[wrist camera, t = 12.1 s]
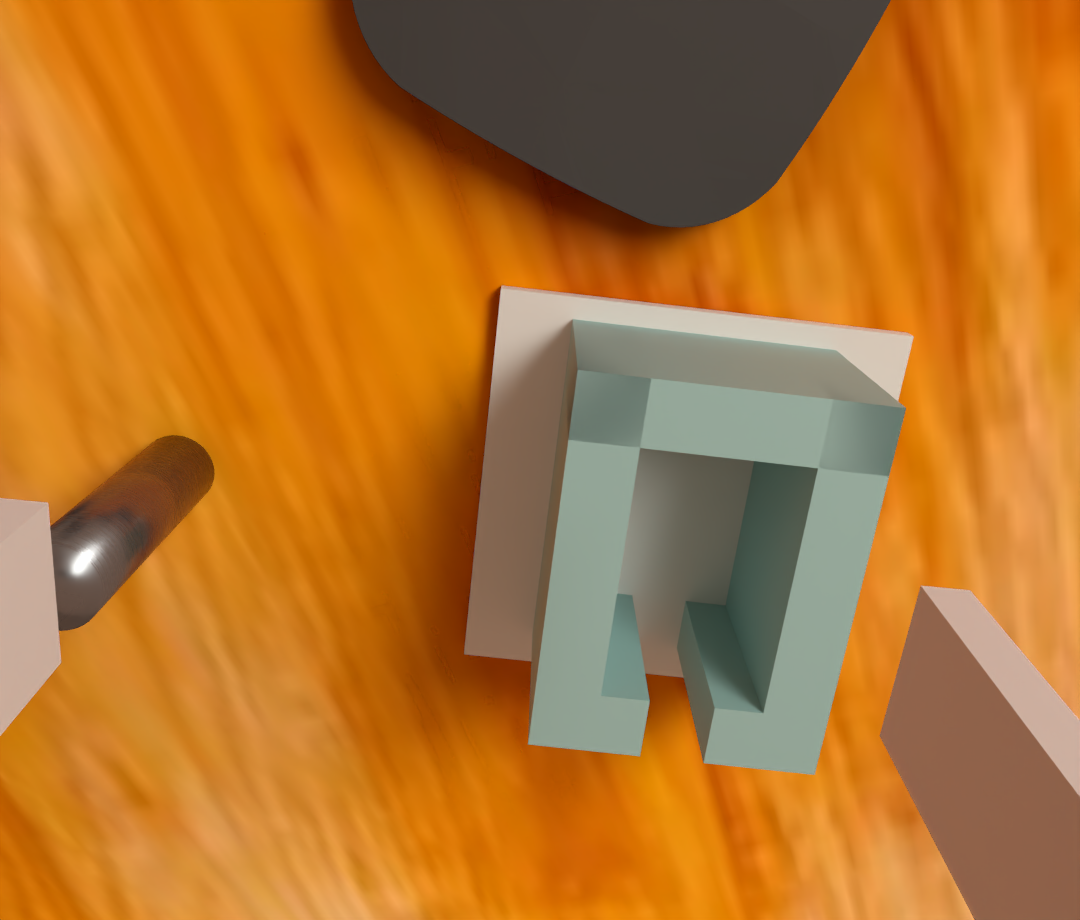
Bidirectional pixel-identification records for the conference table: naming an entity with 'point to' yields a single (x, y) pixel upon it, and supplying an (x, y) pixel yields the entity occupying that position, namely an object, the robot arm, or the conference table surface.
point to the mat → (661, 478)
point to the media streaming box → (631, 88)
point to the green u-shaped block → (762, 552)
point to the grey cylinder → (124, 524)
